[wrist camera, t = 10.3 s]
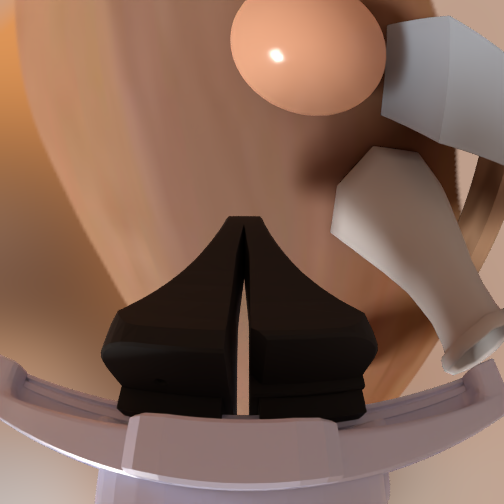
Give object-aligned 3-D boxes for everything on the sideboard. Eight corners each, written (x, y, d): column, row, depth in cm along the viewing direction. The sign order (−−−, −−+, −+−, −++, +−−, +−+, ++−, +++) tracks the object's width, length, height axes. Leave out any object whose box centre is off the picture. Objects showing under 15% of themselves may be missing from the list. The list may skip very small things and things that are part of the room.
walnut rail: (454, 268, 17) (468, 289, 15) (437, 268, 17) (452, 291, 15) (506, 99, 9) (532, 109, 7) (490, 88, 9) (518, 98, 7)
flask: (308, 238, 15) (352, 409, 7) (362, 122, 11) (521, 241, 3) (399, 264, 17) (460, 391, 9) (452, 175, 13) (562, 287, 5)
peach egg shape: (343, 108, 11) (379, 125, 8) (235, 101, 11) (230, 112, 8) (348, 15, 8) (387, -2, 5) (237, 3, 8) (231, -26, 5)
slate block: (450, 133, 11) (509, 167, 7) (380, 114, 11) (438, 142, 7) (459, 56, 8) (524, 69, 4) (386, 25, 8) (449, 15, 4)
